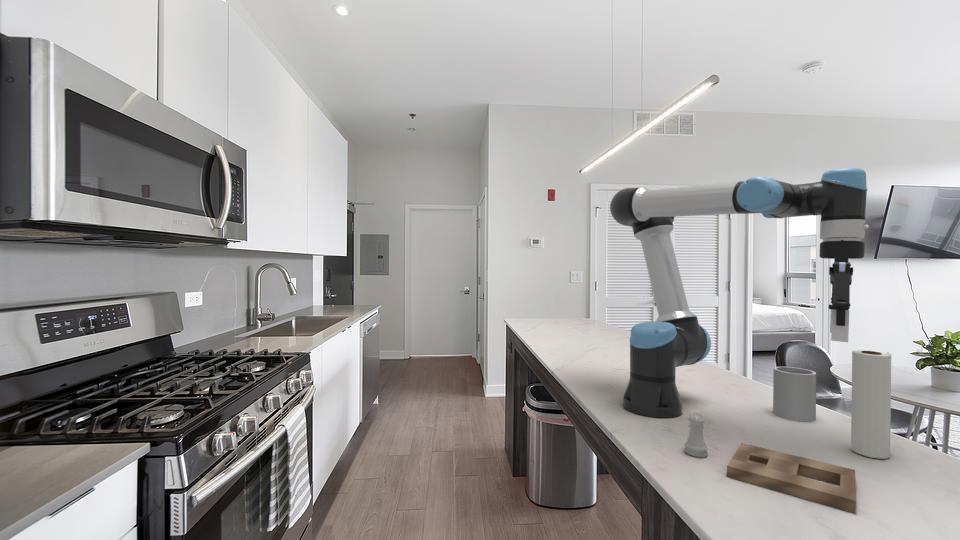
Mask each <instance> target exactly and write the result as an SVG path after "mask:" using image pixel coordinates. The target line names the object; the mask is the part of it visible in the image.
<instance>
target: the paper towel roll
mask: <svg viewBox="0 0 960 540" xmlns="http://www.w3.org/2000/svg"><path fill="white" fill-rule="evenodd" d="M851 352H852V353H851V416H850V417H851V419H850V421H851V424H850V425H851V427H850V429H851V430H850V431H851V432H850V433H851V434H850V448H851V450H852V451H853V452H855V453H856V454H858V455H861V456H865V457H868V458H872V459H873V458H874V459H879V460H885V459H889V458H890V457H891V421H892V419H891V416H892V413H891V411H892V409H891V407H892V406H891V405H892V403H891V401H892V399H891V398H892V396H891V395H892V354H891V353H889V351H887V352H882V351H881V352H878V351H874V350H873V351H872V350H852V351H851Z"/></svg>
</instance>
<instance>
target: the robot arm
mask: <svg viewBox="0 0 960 540" xmlns="http://www.w3.org/2000/svg"><path fill="white" fill-rule="evenodd" d="M867 185H868V184H867V173H866V171H865V170H864V169H862V168H858V167H845V168H844V167H842V168H835V169H832V170H826V171H825V172H823V173H822V176H821V178H820V181H816V182H810V183H809V182H808V183H800V184H799V183H798V184H792V183H788V182H785V181H780V180H777V179H775V178H772V177H768V176H753V177H750V178H748V179H746V180H743V181H741V180H740V181H739V180H738V181H730V182H719V183H718V182H717V183H711V184H710V183H709V184H699V185H690V186H682V187H681V186H680V187H679V186H678V187H670V188H660V189H659V188H657V189H649V188H648V187H645V186H641V187H625V188H621V190H619V191H618V192H616V193H615V195H614V196H613V197H612V199H611V200H610V204H609V205H610V206H609V209H610V210H609V211H610V215H611V217H612V218H613V219H614V221H615V222H617V224H619V225H622V226H626V227H631V228H632V232H633V235H634V239H637V240H639V242H641V243H640V244H641V246H642V247H641V248H642V251H643V252H642V253H643V256H644V259H645V264H646V267H647V268H646V269H647V272H648V277H649V282H650V286H651V290H652V293H653V297H654V298H653V299H654V302H655V303H654V304H655V306H656V311H657V315H658V316H657V317H656V320H655V321H645V322H639V323H637V324H635V325H633V326H632V328H631V330H630V337H629V343H630V344H629V381H628V383H627V385H626V389H625V391H624V395H623V397H622V406H623V409H624V408H625V409H626V410H627V411H629V412H631V413H634V414H635V415H636V414H637V415H641V416H645V417H651V418H675V417H676V418H677V417H678V416H679V417H680V416H682V414H683V403H682V400H681V397H680V393H679V390H678V386H677V384H676V373H677V371H676V369H677V367H683V366H691V365H695V364H697V363H699V362H702V361H703V360H704V359H706V357H707V356H708V355H709V354H710V352H711V346H712V339H711V336H710V333H709V332H708V331H707V329H706V328H704V327H703V326H702V325H701V324H700V323H699V320H698V317H697V314H695V313H693V312H691V311H690V308H689V304H688V299H687V296H686V293H685V289H684V285H683V280H682V277H681V273H680V268H679V265H678V261H677V257H676V253H675V249H674V246H673V242H672V238H671V233H672V232H673V230H674V229H675V227H674V224H673V223H674V222H675V218H676V217H693V216H695V217H696V216H715V215H716V216H717V215H739V214H740V215H742V214H743V215H744V214H745V215H747V214H761V215H762V216H763V217H764V218H767V219H780V220H781V219H784V218H794V217H795V218H796V217H797V218H798V217H807V216H808V217H809V216H820V222H819V223H820V224H819V239H820V240H822V241H821V242H820V243H819V258H821V259H828V260H829V259H831V260H834V262H833V263H832V266H829V267H828V268H829V269H828V275H829V283H830V285H831V297H830V300H831V301H830V304H828V310H830V323H829V326H830V327H829V330H830V331H829V333H830V334H831V335H830V341H832V342H841V343H849V335H850V334H849V333H850V332H849V329H850V308H851V303H850V295H851V292H850V289H851V287H850V286H851V285H852V282H853V281H852V280H853V275H854V267H852V264H851V262H850V261H849V260H857V259H858V260H859V259H864V258H865V247H866V246H865V245H866V243H865V242H864V241H863V239H864V238H865V236H866V234H865V233H866V231H865V230H868V229H869V228H870V225H869V224H865V223H866V210H867V208H866V207H867V192H868V188H867ZM861 240H862V241H861ZM625 409H624V410H625Z"/></svg>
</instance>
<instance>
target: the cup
mask: <svg viewBox="0 0 960 540" xmlns="http://www.w3.org/2000/svg"><path fill="white" fill-rule="evenodd" d="M772 378H773V380H772V381H773V382H772V383H773V384H772V385H773V386H772V387H773V389H772V391H773V392H772V395H773V396H772V414H774V415H775V416H776V417H778V418H781V419H785V420H787V421H789V420H790V421H795V422H801V423H812V422H815V421H816V420H817V372H816V371H814V370H811V369H806V368H801V367H792V366H774V367H773V377H772Z"/></svg>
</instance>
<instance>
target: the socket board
mask: <svg viewBox="0 0 960 540" xmlns="http://www.w3.org/2000/svg"><path fill="white" fill-rule="evenodd" d="M726 477H728V478H732V479H734V480H738V481H742V482H745V483H749V484H753V485H756V486H759V487H762V488H766V489H769V490H772V491H776V492H779V493H784V494H787V495H790V496H793V497H797V498H801V499H804V500H808V501H811V502H815V503H818V504H822V505H825V506H829V507H833V508H835V509H839V510H842V511H846V512H849V513H853V514H857V494H856V493H857V490H856V489H857V487H856V486H857V484H856V482H857V481H856V480H857V479H856V469H853V468H850V467H844V466H842V465H836V464H832V463H827V462H823V461H820V460H815V459H811V458H806V457H802V456H798V455H794V454H790V453H785V452H782V451H777V450H772V449H769V448H764V447H761V446H755V445H751V444H748V443H743V442H741V443H740V444H739V446H738V448H737V450H736V451H735V452H734V454H733V455H732V457H731V459H730V460H729V462H728V463H727V465H726ZM818 480H819V481H818ZM822 481H823V482H822ZM825 482H826V483H825ZM834 484H835V485H834Z"/></svg>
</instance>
